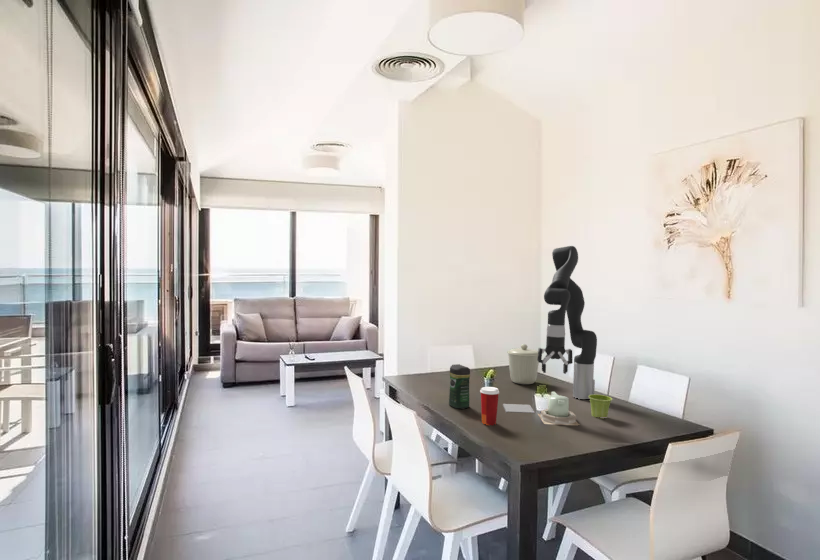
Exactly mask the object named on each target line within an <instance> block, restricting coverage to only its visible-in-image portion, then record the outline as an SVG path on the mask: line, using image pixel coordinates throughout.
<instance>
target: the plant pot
mask: <svg viewBox="0 0 820 560" xmlns="http://www.w3.org/2000/svg"><path fill="white" fill-rule="evenodd" d="M588 397H589V399H590V400H589V402H590V410H591V411H590V413H591V414H590V415H591V417H593V416H594V417H593V418H596V417H607V418H608V415H609V409H610V405H611V402H612V401H613V398H612V397H610V396H608V395H603V394H594V395H589V396H588Z"/></svg>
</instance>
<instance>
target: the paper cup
mask: <svg viewBox="0 0 820 560" xmlns="http://www.w3.org/2000/svg"><path fill="white" fill-rule="evenodd" d="M479 392H480V410H481V423H483V424H482V425H484V424H486V425H485V426H490V425H491V426H495V425H496V424H497V416H498V405H499V404H498V403H499V395H500V391H499V388H497V387H494V386H484V387H483V386H482V387H481V388H480V390H479ZM494 424H495V425H494Z"/></svg>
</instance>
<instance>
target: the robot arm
mask: <svg viewBox="0 0 820 560" xmlns="http://www.w3.org/2000/svg"><path fill="white" fill-rule="evenodd" d="M551 254H552V255H551V256H552V261H553V264H554V267H555V273H554V274H553V276H552V281H551V283H550V285H549V286H547V288H546V290H545V291H544V293H543V299H544V302H545V304H547V305H550V306H551V305H554V306H560V307H559V308H557V309H552V310H549V311H548V312H547V326H546V341H545V348H541V347H538V350H537V351H538V359H537V361H538V362H539V364H540V363H541V371H542V372H543V374H546V370H547V364H546V363H547V362H548V361H549V360H550V359H551V360H561V361H562V363H563V370H562V373H563V374H565V375H566V374H567V373H568V370H569V369H568V368H569V365H571V364H573V383H572V384H573V385H572V397H573V398H574V397H575V398H574V399H576V398H578V399H577V400H580V399H589V397H588V396H589V395H595V389H596V388H595V386H596V385H595V384H596V381H595V378H594V377H595V376H594V372H595V371H594V370H595V360H596V356H597V346H598V337H597V334H596V333H595V331H592V330H588V329H584V328H583V325H582V314H583V312H584V309H585V298H584V295H583V289H582V288H581V287H580V286H579V285H578V284H577V283H576V282H575V281H574V280H573V279H572V278H571V276H572V274H573V273H574V270H575V269H576V266H577V264H578V263H579V252H578V250H577V248H576V246H574V245H568V246H562V247H556V248H554V249H553V250H552V253H551ZM566 316H567V321H568V327H569V335H570V337H569V338H570V341H571V344H572V345H573V346H574V347H575V348H579V349H581V352H580V354H576V355H575V356H574V357H573V349H571V348H567V349H566V347H565V345H566V344H565V342H566V324H565V323H566ZM544 353H546V355H545V356H544V357H543V354H544ZM565 353H566V355H567V359H566V358H565V356H564V355H565ZM542 358H543V359H542ZM573 358H574V359H573Z"/></svg>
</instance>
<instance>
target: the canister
mask: <svg viewBox="0 0 820 560" xmlns="http://www.w3.org/2000/svg"><path fill="white" fill-rule="evenodd" d="M507 356H508V367H509V377H510V380H511V381H512V382H513V383H514V384H517V385H519V384H520V385H532V384H534V383H535V382H536V381H537V377H538V371H539V366H540V365H539V364H540V363H539V362H538V361H537V359H538V350H536V349H534V348H533V349H532V348H528V345H527V344H525V343H522V344H521V345H520V347H518V348H517V347H516V348H512V349H509V350H507Z"/></svg>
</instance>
